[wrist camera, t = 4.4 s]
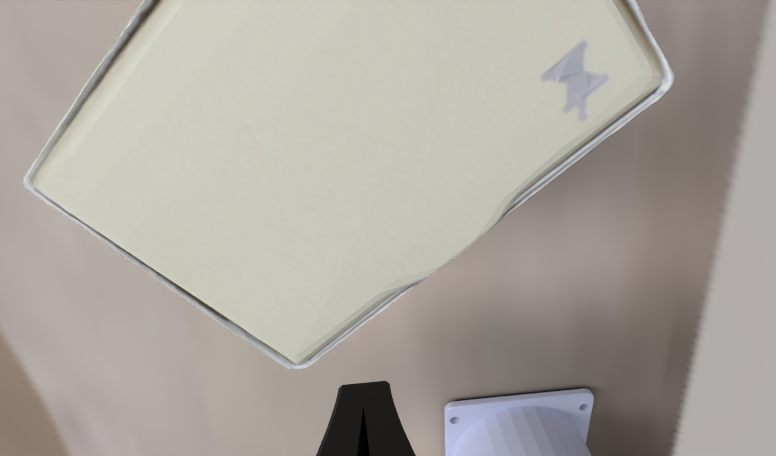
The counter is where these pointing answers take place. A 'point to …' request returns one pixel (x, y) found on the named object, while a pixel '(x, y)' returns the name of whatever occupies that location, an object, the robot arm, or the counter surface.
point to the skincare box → (333, 144)
